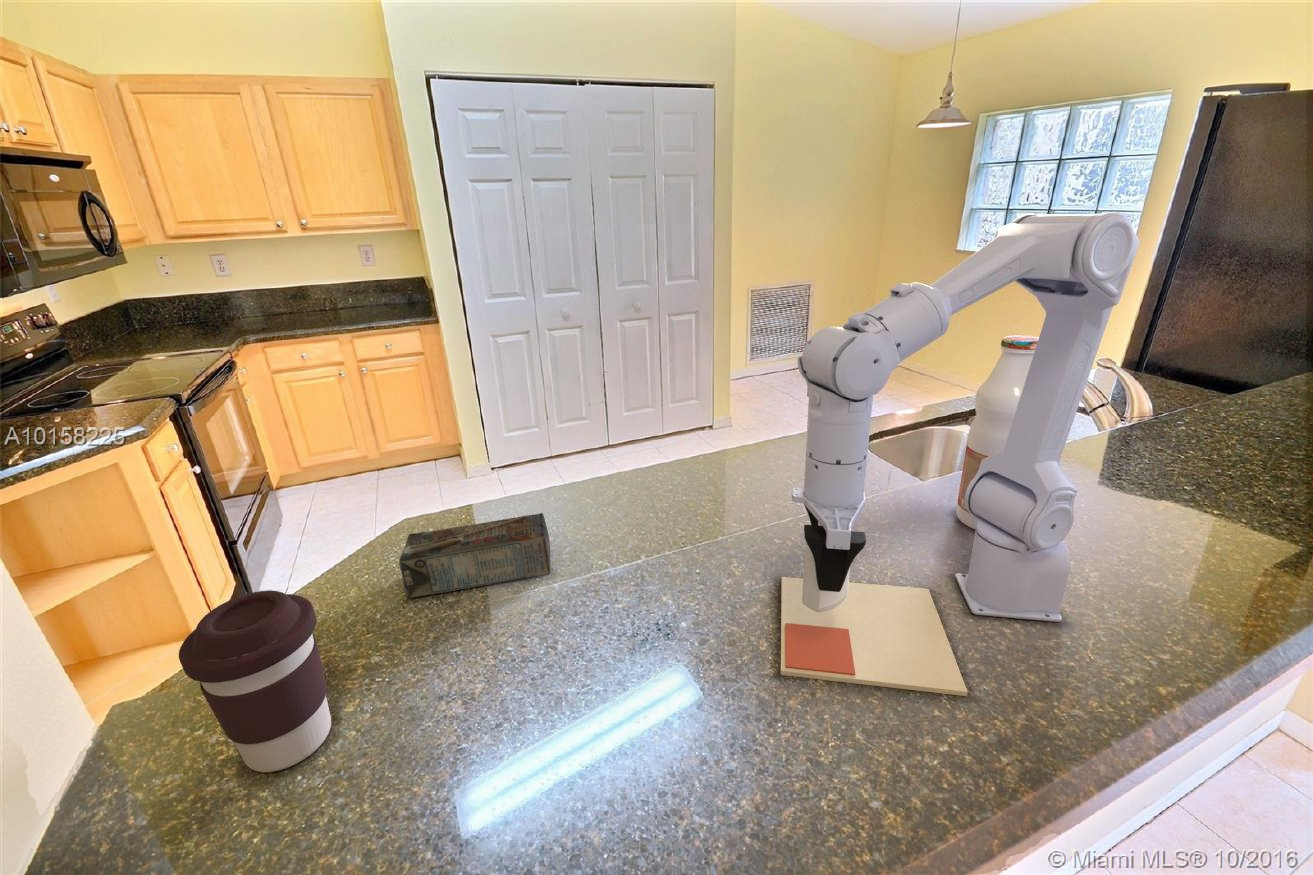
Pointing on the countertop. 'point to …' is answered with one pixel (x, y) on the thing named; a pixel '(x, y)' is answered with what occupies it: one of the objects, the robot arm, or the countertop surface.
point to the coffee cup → (262, 676)
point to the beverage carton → (475, 555)
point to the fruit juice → (995, 410)
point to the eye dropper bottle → (811, 591)
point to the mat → (869, 639)
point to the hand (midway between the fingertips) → (827, 572)
